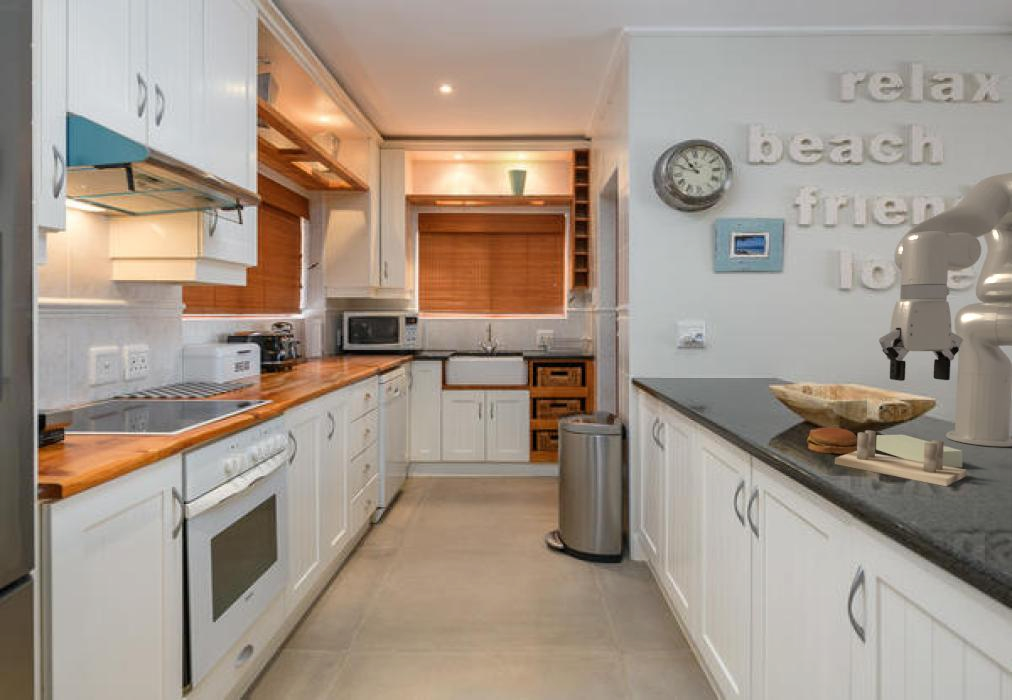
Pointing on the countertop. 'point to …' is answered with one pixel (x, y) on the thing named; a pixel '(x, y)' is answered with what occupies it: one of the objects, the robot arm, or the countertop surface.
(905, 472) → the peg rack
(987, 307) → the robot arm
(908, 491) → the countertop surface
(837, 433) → the burger
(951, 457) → the shelf board
